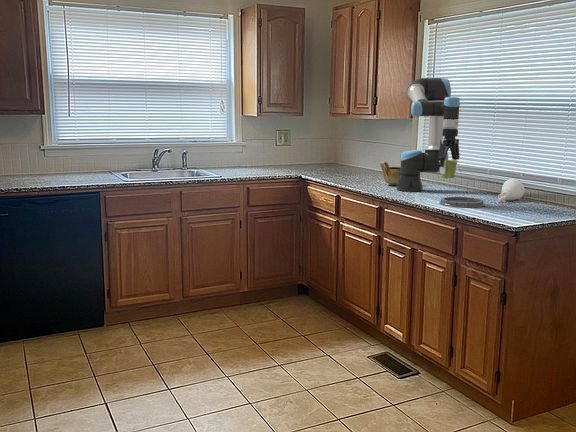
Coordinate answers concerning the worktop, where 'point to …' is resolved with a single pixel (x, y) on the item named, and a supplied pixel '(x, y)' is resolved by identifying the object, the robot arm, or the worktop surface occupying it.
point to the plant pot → (449, 169)
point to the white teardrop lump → (511, 190)
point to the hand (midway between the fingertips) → (447, 172)
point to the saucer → (462, 202)
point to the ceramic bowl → (390, 173)
